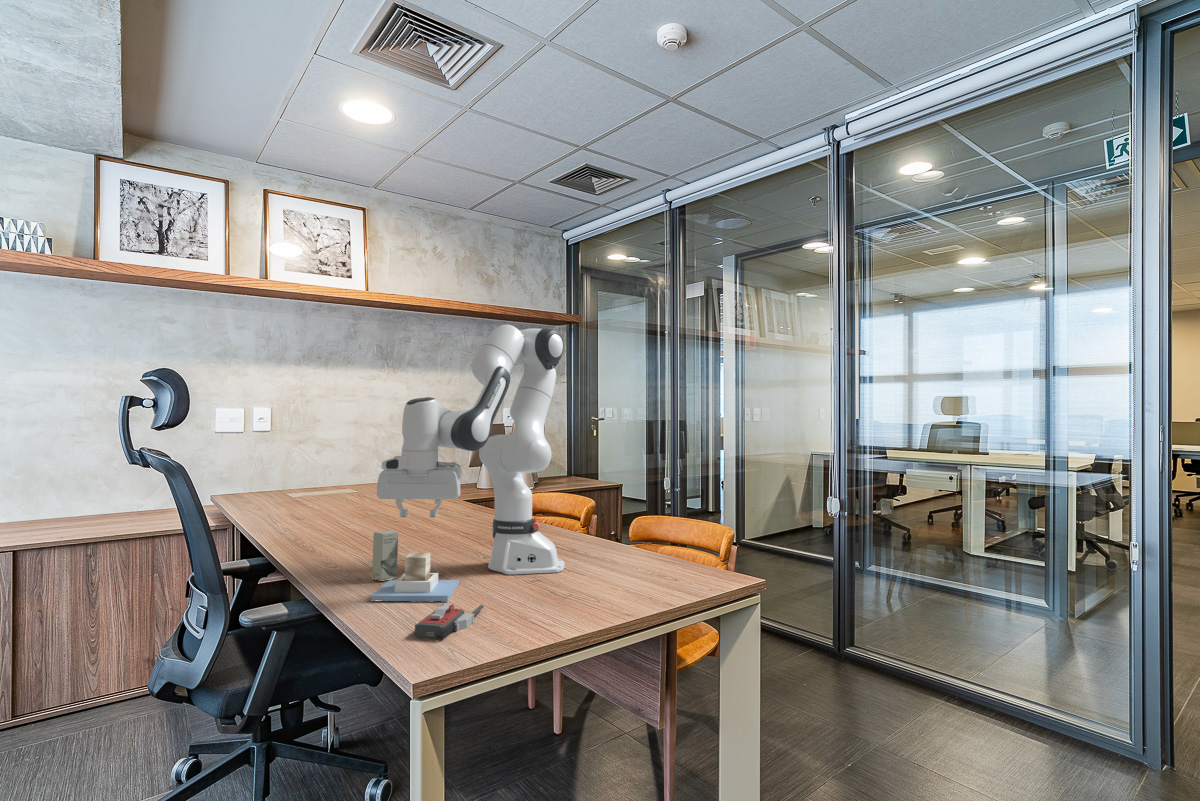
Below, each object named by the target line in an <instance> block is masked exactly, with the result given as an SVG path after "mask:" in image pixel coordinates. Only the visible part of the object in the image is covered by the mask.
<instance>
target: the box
mask: <svg viewBox="0 0 1200 801" xmlns="http://www.w3.org/2000/svg"><path fill="white" fill-rule="evenodd" d="M372 541H373V542H372V543H373V545H372V569H371V579H372V578H373V579H376V580H380V581H383V580H387V579H391V578H395V577H398V576H397V574H398V552H399V549H398V548H399V531H396V530H391V529H388V530H380V531H374V532H373V540H372ZM373 579H372V580H373Z"/></svg>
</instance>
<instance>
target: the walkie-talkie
mask: <svg viewBox="0 0 1200 801" xmlns="http://www.w3.org/2000/svg"><path fill="white" fill-rule="evenodd" d="M484 607H485V606H484V605H483V604H480V605H479V606H478V607H476V608H475V609H474V610H473V611H472V612H468V613H467V612H466V611H465V610H463V609H462V608H455V605H454V604H451V603H450V604H449V603H442V604H441V605H440V606H438V607H437V608H436V609H435V610H434V611H432V612H431V613H430V614H428V615H427V616H426V617H424V618H423V619H422V620H420V621H419V622H418V623H416V624H414V637H415V639H425V638H428V639H427V640H438V639H439V640H438V641H441V640H444V638H445V639H446V638H447V637H449V636H450V634H452V633H453V632H458V631H462V630H466V629H467V628H468V627H470V625H472V624H473V623H475V617H476V616H477V615H478V614H479V613H480V612H481V611H482V609H484Z"/></svg>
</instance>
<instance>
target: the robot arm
mask: <svg viewBox="0 0 1200 801" xmlns="http://www.w3.org/2000/svg"><path fill="white" fill-rule="evenodd" d="M564 349H565V343H564V339H563V337H562V335H561V333H560V332H559V331H557V330H556V329H552V328H545V327H544V328H526V329H525V328H524V329H518V328H517V327H516V326H514V325H511V324H501V325H498V326H497V327H495V329H494V330H493V331H492V332H491V333H490V334H489V335H488V336H487V337H486V338H485V340H484V341H483V342H482V344H481V345H480V346H479V348H478V349H477V350H476V351H475V354H474V355H473V358H472V360H471V363H470V367H471V371H472V375H473V376H474V377H475V379H476V380H477V381H478V382H479V383H480V384H481V385H482V386H483V388H482V389H481V392H480V393H479V395H478V398H477V399H476V401H475V403H474V405H473V406H472V407H471V408H470V409H466V410H464V411H460V410H459V411H455V410H451V409H449V408H447V407H445V406H443V405H442V404H440V403H439V402H438V400H437V399H436V398H435V397H417V398H412V399H410V400H408V401H407V402H406V403H405V405H404V408H403V413H402V414H403V415H402V422H401V423H402V426H401V429H402V430H401V435H402V438H403V443H402V447H401V455H396V456H394V457H392V458H389V459H386V460H383V461H382V462H381V469H382V471H381V472H380V473H379V474H378V478H377V485H376V496H377V497H378V499H381V500H395V505H396V506H397V509H398V511H399V517H400V518H407V517H408V515H409V514H408V513H409V509H407V508H406V509H405V507H404V505H403V503H404V501H405V500H434V504H436V505H435V507H434V509H430V510H429V517H430V518H437V517H438V510H439V508H440V507H441V505H442V504H443V500H457V499H458V498H460V496H461V481H460V479H461V478H462V468H461V466H460V465H459V464H458V463H456V462H454V461H450V462H445V461H439V448H449V449H458V450H459V449H461V450H464V451H469V452H475V451H478V450H479V451H478V457H479V459H480V462H481V464H482V465H483V466H484V467H485V469H486V470H487V472H488V474H489V478H490V480H491V483H492V488H493V492H494V495H493V496H494V517H493V519H492V525H491V526H492V529H491V530H492V533H491V534H492V538H493V539H492V540H493V541H492V547H491V548H492V549H491V554H490V559H489V562H488V565H487V568H488V569H489V570H492V571H495V572H499V573H502V574H505V575H527V574H550V573H559V572H561V571H563V570H564V569H565V561H564V560H563V559H562V558H559V557H558V551H557V547H556V545H555V543H554V542H553V541H552V540H550V539H549V538H548V537H546V536H544V534H543V533H541V532H540V531H539V529H540V526H541V525H540V522H539V520H538V519H535V518H533V492H532V490H531V488H530V487H529V486H528V485H527V483H526V482H525V481H524V479H523V474H533V473H538V472H542V471H544V470H546V469H547V468H548V467H549V466H550V463H551V460H552V456H553V454H552V447H551V446H550V444H549V442H548V441H547V439H546V435H545V424H546V423H545V422H546V419H547V415H548V411H549V409H550V405H551V402H552V399H553V396H554V391H555V387H556V381H557V371H556V367H557V366H558V365H559V363H560V360H561V359H562V356H563V353H564V351H565V350H564ZM517 365H520V366H523V375H522V376H521V379H520V381H519V383H518V385H517V387H516V391H515V394H514V397H513V400H512V404H511V406H510V408H509V415H510V417H511V419H512V421H513V422H514V431H513V434H495V435H491V432H492V427H493V425H494V421H495V419H496V416H497V414H498V412H499V410H500V408H501V405H502V403H503V400H504V399H505V396H506V394H507V391H508V389H509V387H510V383H511V375H510V373H511V372H512V370H513V369H514V367H515V366H517Z"/></svg>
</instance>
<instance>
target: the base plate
mask: <svg viewBox="0 0 1200 801" xmlns="http://www.w3.org/2000/svg"><path fill="white" fill-rule="evenodd" d="M459 583H460V580H459V579H439V572H430V579H429V580H428V581H405V572H404V573H403V574H402V575H401V576H400V577H399V578H397V579H393V580H389V581H385V583H384V584H383V585H382V586H380V587H379V588H378V589H377V590H375V592H373V593H372V595H371V596H370V602H371V601H372V600H373V601H375V600H382V601H441V602H440V603H448V602H449V601H450V599H451V598H452V596H453V595H454V593H455V592H456V591H457V589H458V588H457V586H458V585H459V586H460V584H459ZM459 586H458V587H459ZM456 588H457V589H456ZM454 591H455V592H454ZM452 594H453V595H452ZM450 597H451V598H450ZM448 600H449V601H448Z"/></svg>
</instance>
